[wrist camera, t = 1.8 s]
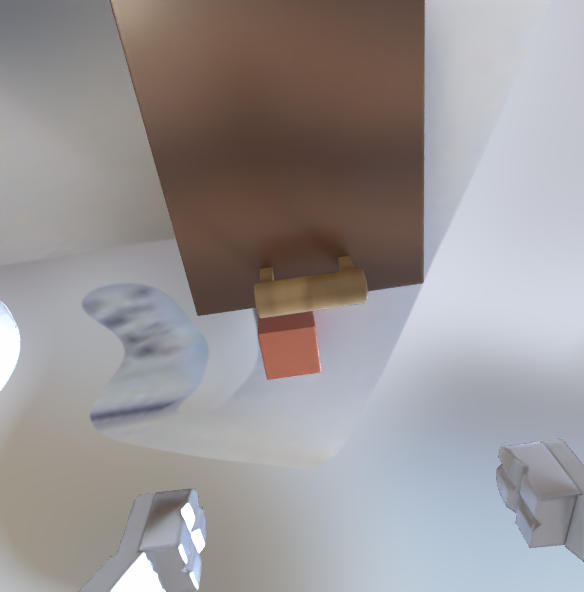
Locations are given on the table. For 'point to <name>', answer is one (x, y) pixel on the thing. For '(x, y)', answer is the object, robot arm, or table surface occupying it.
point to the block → (289, 345)
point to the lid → (285, 144)
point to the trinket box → (8, 344)
